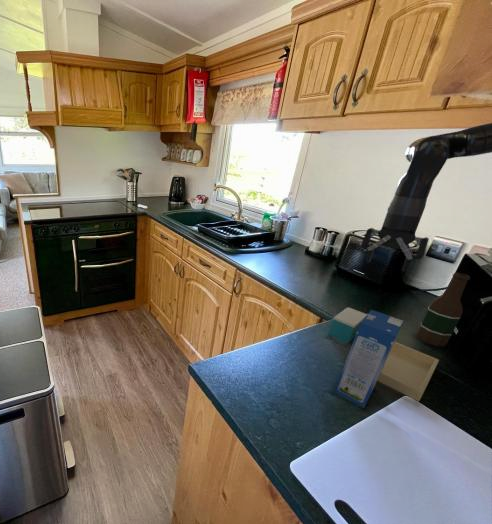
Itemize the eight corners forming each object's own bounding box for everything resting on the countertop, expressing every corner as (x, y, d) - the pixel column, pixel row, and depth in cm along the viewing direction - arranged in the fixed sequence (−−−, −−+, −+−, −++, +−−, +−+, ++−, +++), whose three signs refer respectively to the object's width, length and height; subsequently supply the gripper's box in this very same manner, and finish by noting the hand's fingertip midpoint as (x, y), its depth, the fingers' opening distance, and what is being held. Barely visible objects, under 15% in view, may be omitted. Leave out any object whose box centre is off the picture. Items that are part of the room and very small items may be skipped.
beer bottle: (451, 350, 92) (488, 281, 83) (421, 343, 94) (454, 276, 85) (437, 336, 98) (469, 272, 90) (409, 331, 101) (439, 267, 92)
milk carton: (345, 374, 78) (371, 309, 70) (373, 388, 73) (403, 320, 66) (333, 392, 71) (360, 322, 64) (363, 408, 67) (396, 335, 60)
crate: (434, 369, 82) (439, 359, 81) (417, 404, 69) (423, 393, 68) (369, 341, 93) (373, 332, 92) (344, 366, 81) (348, 357, 79)
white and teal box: (360, 333, 97) (367, 314, 94) (347, 346, 90) (354, 325, 87) (341, 325, 101) (347, 307, 99) (327, 336, 94) (333, 316, 91)
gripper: (440, 216, 79) (418, 271, 84) (377, 208, 89) (361, 257, 94) (436, 218, 74) (412, 276, 80) (370, 209, 84) (353, 261, 90)
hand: (384, 266), depth 87 cm, fingers open, 8 cm apart
